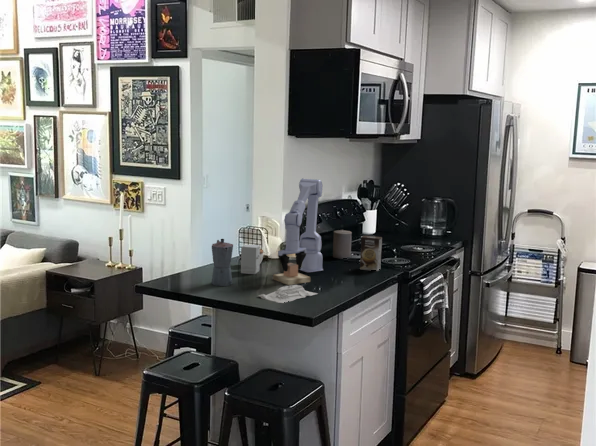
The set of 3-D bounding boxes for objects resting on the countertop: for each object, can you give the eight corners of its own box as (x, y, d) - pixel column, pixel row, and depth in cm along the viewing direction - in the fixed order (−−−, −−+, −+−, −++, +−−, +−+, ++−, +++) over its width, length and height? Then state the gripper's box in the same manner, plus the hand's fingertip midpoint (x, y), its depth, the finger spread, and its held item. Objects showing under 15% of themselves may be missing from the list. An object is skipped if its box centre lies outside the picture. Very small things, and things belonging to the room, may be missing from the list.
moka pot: (216, 288, 259) (217, 241, 256) (204, 280, 273) (204, 235, 270) (238, 286, 264) (238, 240, 261) (225, 278, 277) (225, 234, 274)
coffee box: (359, 269, 303) (360, 236, 300) (363, 266, 309) (364, 235, 306) (377, 271, 299) (379, 238, 297) (380, 268, 305) (382, 236, 303)
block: (291, 273, 280) (291, 263, 279) (297, 275, 277) (298, 264, 276) (283, 275, 277) (283, 264, 277) (289, 277, 274) (290, 266, 273)
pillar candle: (328, 256, 332) (329, 228, 330) (341, 254, 339) (342, 227, 336) (342, 259, 325) (343, 231, 323) (354, 257, 332) (355, 229, 329)
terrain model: (254, 302, 247) (254, 290, 246) (286, 288, 266) (286, 277, 265) (289, 309, 238) (289, 296, 237) (320, 294, 257) (320, 282, 256)
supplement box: (255, 274, 287) (256, 247, 285) (240, 273, 288) (240, 246, 286) (259, 271, 294) (260, 244, 292) (244, 270, 295) (245, 243, 294)
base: (295, 276, 285) (295, 271, 285) (310, 281, 275) (310, 277, 275) (273, 279, 278) (273, 274, 278) (287, 285, 269) (287, 280, 268)
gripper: (299, 237, 282) (298, 266, 284) (274, 239, 273) (273, 270, 275) (309, 239, 276) (308, 269, 278) (283, 242, 267) (283, 273, 269)
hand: (291, 269), depth 276 cm, fingers open, 7 cm apart
